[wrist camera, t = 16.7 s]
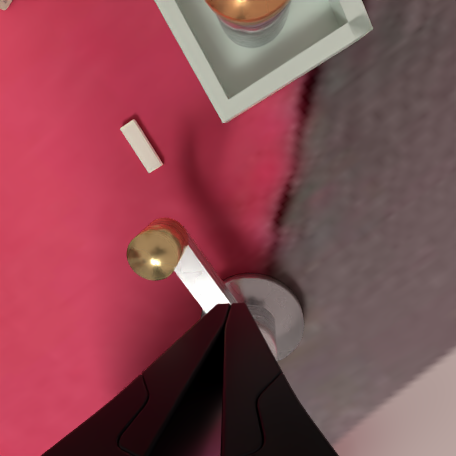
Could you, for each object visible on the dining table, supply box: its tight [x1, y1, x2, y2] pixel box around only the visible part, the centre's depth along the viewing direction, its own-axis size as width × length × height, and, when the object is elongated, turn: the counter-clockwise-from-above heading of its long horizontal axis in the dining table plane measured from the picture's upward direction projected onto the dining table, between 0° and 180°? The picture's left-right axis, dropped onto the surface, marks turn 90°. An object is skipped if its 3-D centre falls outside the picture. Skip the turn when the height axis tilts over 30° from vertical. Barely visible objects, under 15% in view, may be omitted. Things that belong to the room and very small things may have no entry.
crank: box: [127, 218, 277, 361], centre depth 18 cm, size 11×3×5 cm, turn 33°
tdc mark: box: [120, 119, 163, 173], centre depth 18 cm, size 3×1×1 cm, turn 31°
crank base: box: [201, 273, 304, 361], centre depth 21 cm, size 7×7×1 cm
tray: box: [154, 0, 373, 123], centre depth 15 cm, size 8×8×2 cm
